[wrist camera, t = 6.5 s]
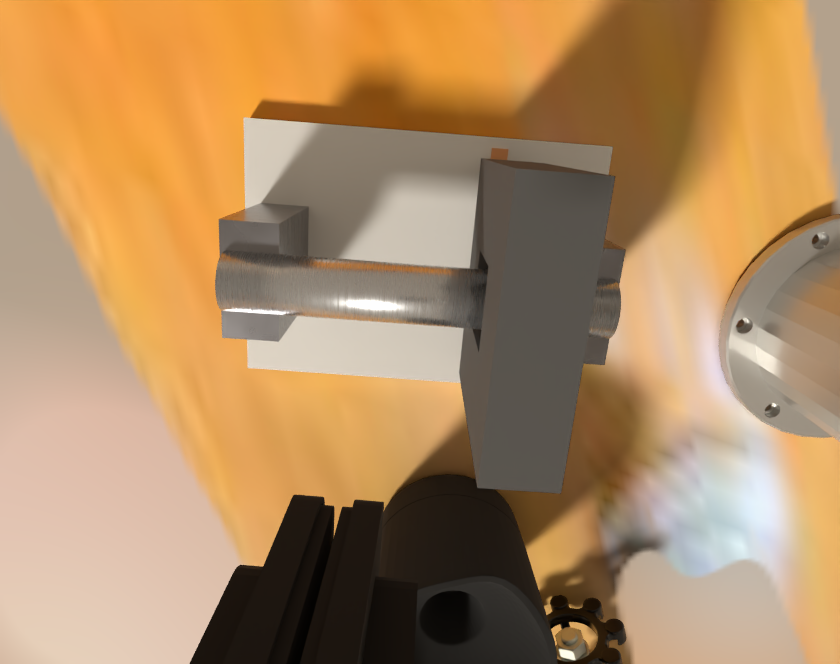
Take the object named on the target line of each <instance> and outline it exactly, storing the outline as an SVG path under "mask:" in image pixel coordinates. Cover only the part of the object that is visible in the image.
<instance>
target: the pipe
mask: <svg viewBox="0 0 840 664" xmlns="http://www.w3.org/2000/svg"><path fill="white" fill-rule="evenodd" d="M308 220H309V207H308V206H295V205H282V204H269V203H260V204H257V205H254V206H252V207H249V208H247V209H244V210H241V211H239V212H236V213H234V214H231V215H228V216H226V217H223V218H221V219H219V243H220V258H219V261H218V265H217V270H216V280H215V290H216V298H217V303H218V306H219V308H220V309H221V310H222V338H234V339H248V340H262V341H276V342H279V341H280V339H281V338H282V337H283V335H284V334H285V332H286V331H287V330H288V328H289V327H290V325H291V324H292V323H293V321H294V320H295V318H296V317H297V316H301V317H315V318H329V319H343V320H356V321H370V322H384V323H398V324H412V325H425V326H439V327H453V328H467V329H481V330H482V321H483V312H484V303H485V294H486V285H487V276H488V270H486V269H472V268H459V267H446V266H432V265H419V264H405V263H392V262H378V261H365V260H351V259H338V258H325V257H311V256H308ZM624 256H625V249H623V248H621V247H619V246H617V245H616V244H614V243H612V242H610V241H608V240H606V239H604V245H603V251H602V257H601V263H600V269H599V274H598V280H597V286H596V292H595V298H594V304H593V310H592V315H591V321H590V327H589V333H588V339H587V345H586V350H585V356H584V362H583V363H584V364H598V365H605V360H606V354H607V349H608V343H609V338H611V337H612V336H613V334H614V333H615V331H616V328H617V325H618V322H619V317H620V310H621V294H620V288H619V283H620V278H621V272H622V267H623V261H624Z"/></svg>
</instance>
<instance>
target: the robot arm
mask: <svg viewBox="0 0 840 664" xmlns="http://www.w3.org/2000/svg"><path fill="white" fill-rule="evenodd" d="M813 237H814V238H813ZM812 239H813V240H812ZM739 320H740V322H739V323H738V321H739ZM737 323H738V324H737ZM718 346H719V355H720V363H721V367H722V370H723V373H724V376H725V379H726V382H727V384H728V386H729V387H730V389H731V390H732V392H733V393H734V395H735V397H736V398H737V399H738V400H739V401H740V402H741V403H742V404H743V405H744V406H745V407H746V408H747V409H748V410H749V411H750V412H751V413H752V414H754V415H755V416H756V417H757V418H759V419H760V420H761V421H763V422H764V423H766V424H768V425H770V426H772V427H774V428H776V429H778V430H780V431H782V432H786V433H790V434H794V435H797V436H801V437H814V438H828V437H834V438H835V439H836V440H838V441H839V442H840V214H836V215H832V216H829V217H825V218H822V219H819V220H815V221H812V222H810V223H808V224H806V225H804V226H802V227H800V228H797V229H795V230H793V231H791V232H789V233H788V234H786V235H785V236H784V237H782V238H781V239H779V240H778V241H777V242H775V243H774V244H772V245H771V246H769V247H768V248H767V249H766V250H765V251H764V252H763V253H762V254H761V255H760V256H759V257H758V258H757V259H756V260H755V261H754V262H753V263H752V264H751V265H750V266H749V268H748V269H747V270H746V272H745V273H744V275H743V276H742V277H741V279H740V280H739V281H738V283H737V284H736V286H735V288H734V290H733V292H732V294H731V296H730V298H729V300H728V302H727V304H726V308H725V311H724V315H723V318H722V321H721V325H720V335H719V345H718ZM383 510H384V502H376V501H365V500H355V501H354V504H353V508H352V507H342V510H341V513H340V517H339V521H338V524H337V528H336V532H335V535H334V506H328V505H325V502H324V497H317V496H305V495H293V497H292V499H291V502H290V504H289V506H288V509H287V511H286V514H285V516H284V518H283V521H282V523H281V526H280V528H279V530H278V533H277V535H276V537H275V540H274V542H273V545H272V547H271V549H270V552H269V554H268V557H267V559H266V561H265V564H264V566H263V567H259V566H247V565H239V566H238V567H237V568H236V569H235V571H234V573H233V575H232V577H231V579H230V581H229V583H228V585H227V587H226V589H225V591H224V593H223V595H222V597H221V599H220V602H219V604H218V606H217V608H216V610H215V612H214V614H213V616H212V619H211V620H210V622H209V625H208V627H207V629H206V631H205V633H204V635H203V637H202V639H201V641H200V643H199V645H198V647H197V649H196V651H195V653H194V656H193V658H192V660H191V662H190V664H414V651H415V631H416V612H417V592H418V580H412V579H400V578H388V577H379V572H380V557H381V541H382V526H383ZM333 538H334V539H333Z"/></svg>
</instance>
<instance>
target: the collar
mask: <svg viewBox="0 0 840 664" xmlns="http://www.w3.org/2000/svg"><path fill="white" fill-rule="evenodd" d="M614 181H615V176H611V175H606V174H600V173H595V172H589V171H584V170H579V169H573V168H568V167H562V166H557V165H551V164H546V163H537V162H524V161H511V160H498V159H485V158H481V163H480V173H479V183H478V192H477V202H476V212H475V222H474V231H473V241H472V251H471V261H470V268H472V269H486V270H488V276H487V285H486V294H485V303H484V312H483V321H482V330H481V329H467V328H464V329H463V339H462V349H461V359H460V368H459V375H460V382H461V388H462V394H463V401H464V407H465V413H466V419H467V426H468V432H469V438H470V445H471V451H472V457H473V464H474V470H475V476H476V483H477V488H485V489H500V490H515V491H530V492H545V493H559V494H561V491H562V485H563V479H564V473H565V467H566V462H567V456H568V450H569V444H570V438H571V432H572V427H573V421H574V415H575V409H576V403H577V397H578V391H579V386H580V380H581V374H582V368H583V362H584V356H585V350H586V345H587V339H588V333H589V327H590V321H591V315H592V310H593V304H594V298H595V292H596V286H597V280H598V274H599V269H600V263H601V257H602V251H603V245H604V239H605V234H606V228H607V222H608V216H609V210H610V204H611V198H612V193H613V187H614Z"/></svg>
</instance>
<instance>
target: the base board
mask: <svg viewBox="0 0 840 664" xmlns="http://www.w3.org/2000/svg"><path fill="white" fill-rule="evenodd" d="M612 150H613V147H612V146H599V145H586V144H574V143H561V142H548V141H535V140H523V139H510V138H497V137H485V136H472V135H459V134H447V133H434V132H421V131H409V130H396V129H383V128H371V127H358V126H345V125H333V124H320V123H307V122H294V121H282V120H269V119H256V118H244V163H245V209H247V208H249V207H252V206H254V205H257V204H260V203H269V204H282V205H295V206H308V207H309V220H308V256H311V257H325V258H338V259H351V260H365V261H378V262H392V263H405V264H419V265H432V266H446V267H459V268H470V261H471V251H472V241H473V231H474V222H475V212H476V202H477V192H478V183H479V173H480V163H481V158H485V159H498V160H511V161H524V162H537V163H546V164H551V165H557V166H562V167H568V168H573V169H579V170H584V171H589V172H595V173H600V174H606V175H608V174H609V168H610V162H611V156H612ZM463 329H464V328H453V327H439V326H425V325H412V324H398V323H384V322H370V321H356V320H343V319H329V318H315V317H301V316H297V317H296V318H295V320H294V321H293V323H292V324H291V325H290V327H289V328H288V330H287V331H286V332H285V334H284V335H283V337H282V338H281V339H280V341H279V342H276V341H262V340H248V339H247V348H248V368H257V369H271V370H285V371H299V372H313V373H328V374H342V375H356V376H370V377H384V378H398V379H413V380H427V381H441V382H455V383H461V382H460V375H459V368H460V359H461V349H462V339H463Z"/></svg>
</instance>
